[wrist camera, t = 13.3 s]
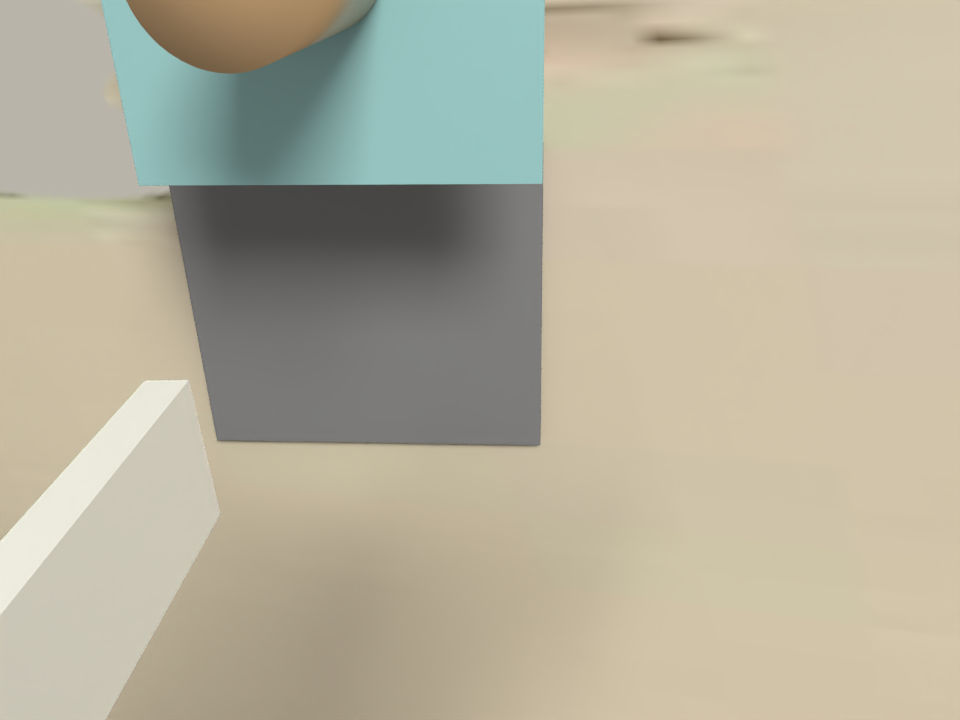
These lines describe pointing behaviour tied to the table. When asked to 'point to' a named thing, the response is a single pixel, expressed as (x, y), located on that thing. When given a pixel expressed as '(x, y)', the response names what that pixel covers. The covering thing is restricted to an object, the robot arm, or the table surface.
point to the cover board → (331, 90)
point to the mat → (367, 310)
